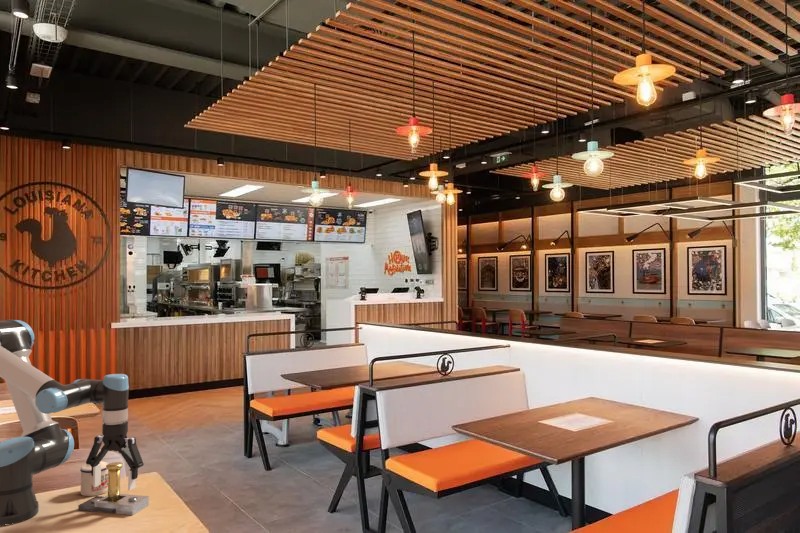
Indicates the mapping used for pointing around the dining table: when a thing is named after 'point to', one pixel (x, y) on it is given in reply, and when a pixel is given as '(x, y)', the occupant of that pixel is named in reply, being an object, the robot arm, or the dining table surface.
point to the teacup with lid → (87, 480)
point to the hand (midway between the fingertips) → (114, 487)
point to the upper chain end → (124, 504)
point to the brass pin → (114, 481)
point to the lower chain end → (90, 507)
